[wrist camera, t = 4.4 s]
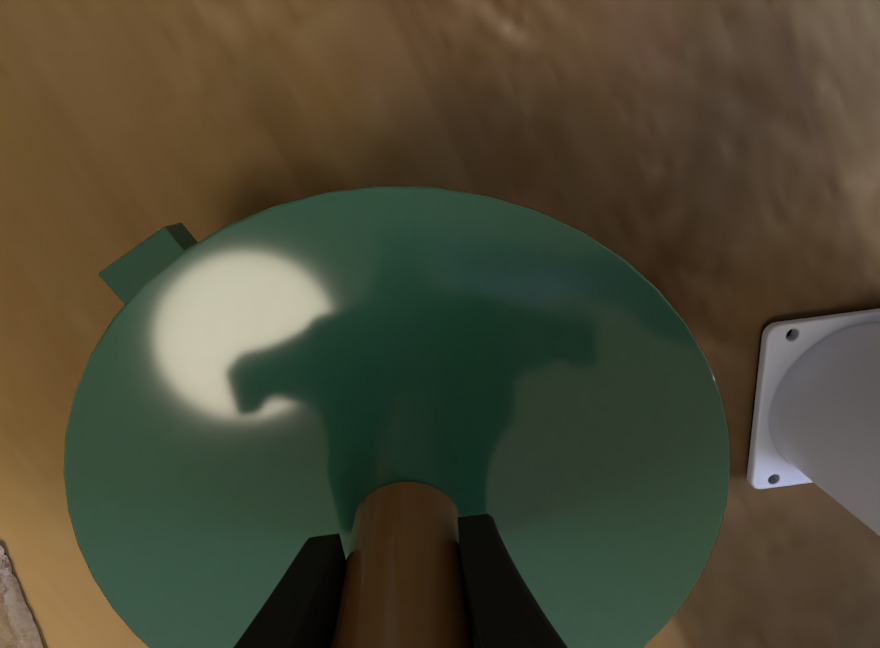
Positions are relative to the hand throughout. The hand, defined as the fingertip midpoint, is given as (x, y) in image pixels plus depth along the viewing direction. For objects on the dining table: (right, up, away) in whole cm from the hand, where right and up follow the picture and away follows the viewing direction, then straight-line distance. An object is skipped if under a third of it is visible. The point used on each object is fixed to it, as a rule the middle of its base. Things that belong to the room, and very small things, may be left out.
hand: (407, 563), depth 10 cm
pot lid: (0, 0, +1) cm, 2 cm away
